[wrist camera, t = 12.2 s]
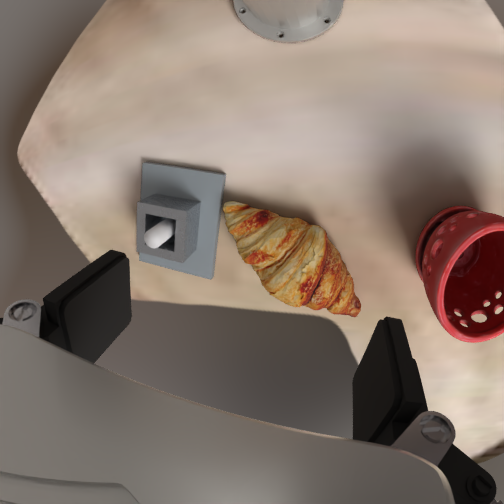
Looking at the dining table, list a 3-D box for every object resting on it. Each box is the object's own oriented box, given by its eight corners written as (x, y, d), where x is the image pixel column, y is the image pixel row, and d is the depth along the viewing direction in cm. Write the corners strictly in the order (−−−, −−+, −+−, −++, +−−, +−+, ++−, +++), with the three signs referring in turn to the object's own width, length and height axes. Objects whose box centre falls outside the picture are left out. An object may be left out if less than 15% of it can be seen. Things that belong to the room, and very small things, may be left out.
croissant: (224, 212, 44) (190, 250, 39) (253, 163, 36) (215, 202, 31) (344, 303, 45) (325, 349, 40) (392, 274, 37) (377, 327, 32)
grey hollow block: (155, 193, 40) (137, 202, 36) (201, 201, 39) (186, 211, 35) (153, 239, 43) (136, 251, 39) (196, 249, 42) (183, 263, 38)
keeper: (146, 161, 40) (113, 171, 33) (226, 174, 38) (204, 185, 32) (142, 257, 46) (114, 280, 39) (213, 276, 44) (193, 304, 37)
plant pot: (483, 292, 36) (518, 343, 26) (400, 288, 39) (420, 344, 28) (504, 201, 31) (555, 231, 21) (416, 188, 34) (451, 216, 23)
